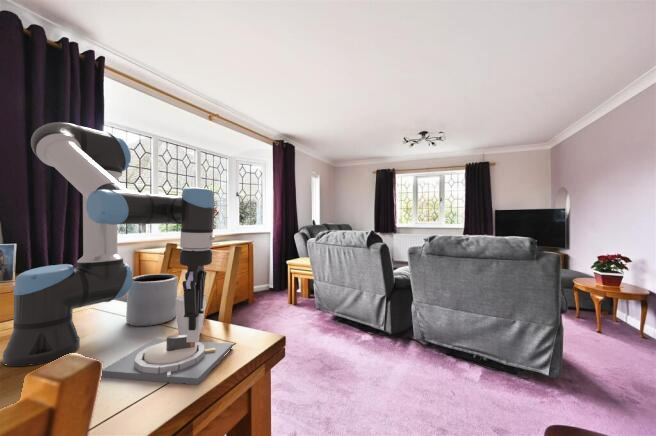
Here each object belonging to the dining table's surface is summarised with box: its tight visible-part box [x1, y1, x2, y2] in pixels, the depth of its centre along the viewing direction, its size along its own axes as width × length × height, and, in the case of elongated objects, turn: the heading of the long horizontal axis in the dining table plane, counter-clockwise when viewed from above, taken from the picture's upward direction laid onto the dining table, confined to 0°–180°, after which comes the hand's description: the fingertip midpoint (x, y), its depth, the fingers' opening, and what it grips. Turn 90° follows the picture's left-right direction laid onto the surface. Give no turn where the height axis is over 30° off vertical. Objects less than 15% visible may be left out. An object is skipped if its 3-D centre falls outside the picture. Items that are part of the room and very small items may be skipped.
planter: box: [125, 273, 179, 327], centre depth 109 cm, size 16×16×16 cm
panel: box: [101, 338, 234, 386], centre depth 78 cm, size 24×20×3 cm
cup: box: [175, 294, 207, 335], centre depth 97 cm, size 9×9×12 cm
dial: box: [144, 334, 197, 365], centre depth 77 cm, size 12×12×5 cm
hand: (192, 340), depth 76 cm, fingers closed
